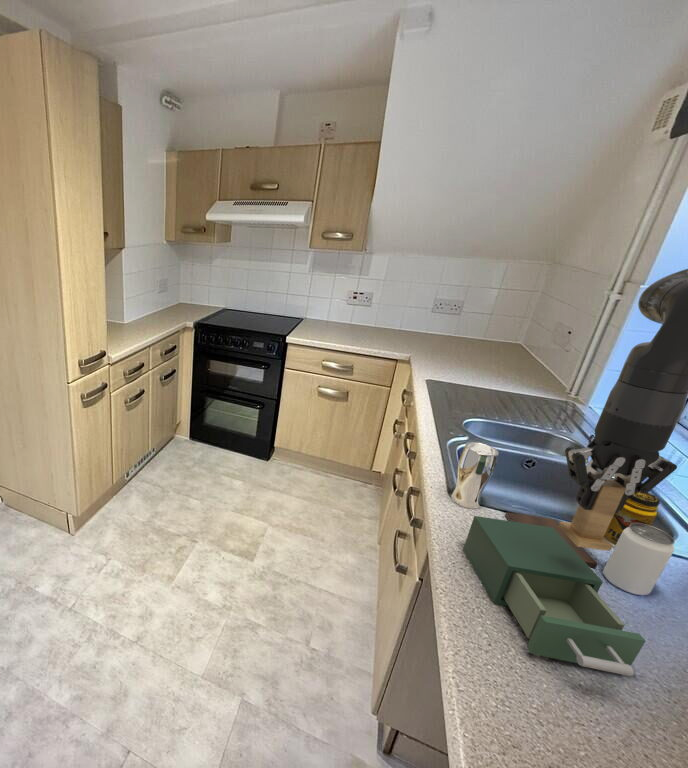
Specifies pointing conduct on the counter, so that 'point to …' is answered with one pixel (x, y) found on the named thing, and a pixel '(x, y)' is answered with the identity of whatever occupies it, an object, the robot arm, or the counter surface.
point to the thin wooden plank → (555, 524)
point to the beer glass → (474, 473)
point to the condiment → (632, 515)
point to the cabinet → (521, 555)
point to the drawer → (571, 623)
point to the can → (639, 558)
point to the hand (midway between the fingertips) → (596, 508)
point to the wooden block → (595, 518)
